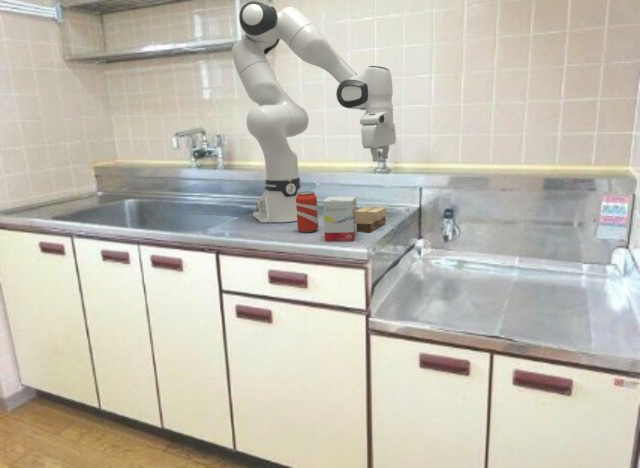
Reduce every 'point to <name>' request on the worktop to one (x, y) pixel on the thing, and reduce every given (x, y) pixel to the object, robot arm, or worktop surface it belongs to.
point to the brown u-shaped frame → (371, 225)
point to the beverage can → (307, 211)
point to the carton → (370, 214)
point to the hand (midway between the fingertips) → (380, 160)
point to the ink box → (340, 218)
